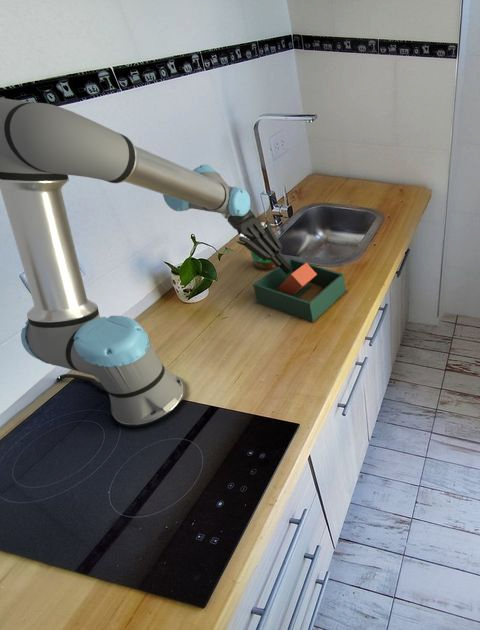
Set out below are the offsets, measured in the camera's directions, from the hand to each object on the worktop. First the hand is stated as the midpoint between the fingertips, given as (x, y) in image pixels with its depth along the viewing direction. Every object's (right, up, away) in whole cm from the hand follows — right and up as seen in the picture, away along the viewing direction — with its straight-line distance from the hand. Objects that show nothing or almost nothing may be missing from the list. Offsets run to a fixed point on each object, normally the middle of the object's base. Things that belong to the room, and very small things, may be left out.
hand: (289, 271), depth 126 cm
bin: (+3, -8, +4) cm, 9 cm away
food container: (-15, +3, +18) cm, 23 cm away
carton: (-1, -5, +5) cm, 7 cm away
